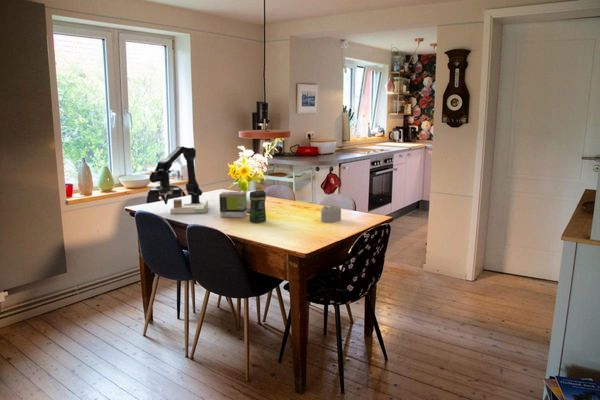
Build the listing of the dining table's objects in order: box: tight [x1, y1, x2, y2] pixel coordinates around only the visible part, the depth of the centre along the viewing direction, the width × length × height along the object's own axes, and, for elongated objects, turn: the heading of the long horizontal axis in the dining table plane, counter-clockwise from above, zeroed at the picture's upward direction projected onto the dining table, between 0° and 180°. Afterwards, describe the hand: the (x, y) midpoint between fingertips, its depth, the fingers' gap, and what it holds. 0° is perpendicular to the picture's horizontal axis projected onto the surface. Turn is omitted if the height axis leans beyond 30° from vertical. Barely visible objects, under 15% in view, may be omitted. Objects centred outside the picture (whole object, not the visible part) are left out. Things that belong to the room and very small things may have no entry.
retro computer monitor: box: [218, 191, 248, 218], centre depth 293 cm, size 15×10×15 cm
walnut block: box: [173, 198, 183, 207], centre depth 306 cm, size 4×4×4 cm
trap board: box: [169, 200, 209, 215], centre depth 307 cm, size 16×22×5 cm
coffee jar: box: [248, 189, 267, 224], centre depth 279 cm, size 10×8×19 cm
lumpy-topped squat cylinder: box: [320, 205, 342, 224], centre depth 282 cm, size 10×13×9 cm
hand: (166, 204), depth 305 cm, fingers closed
